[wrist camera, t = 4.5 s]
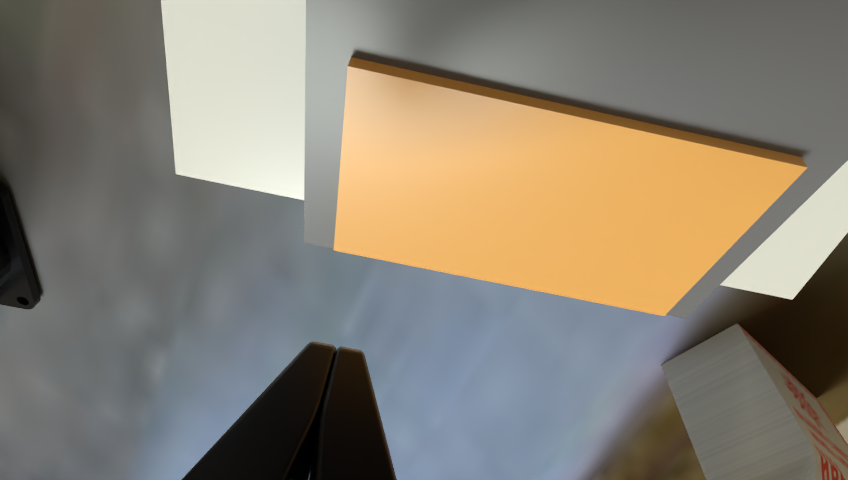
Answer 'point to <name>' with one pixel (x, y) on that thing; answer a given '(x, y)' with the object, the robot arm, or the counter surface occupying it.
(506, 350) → the counter surface
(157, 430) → the counter surface
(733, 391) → the printed cardboard box
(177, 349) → the counter surface
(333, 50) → the rocker switch
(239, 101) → the breaker housing
